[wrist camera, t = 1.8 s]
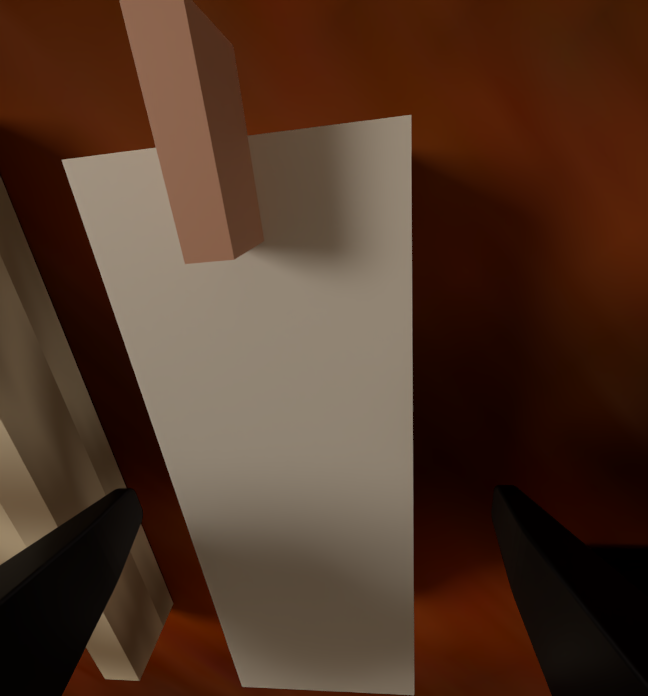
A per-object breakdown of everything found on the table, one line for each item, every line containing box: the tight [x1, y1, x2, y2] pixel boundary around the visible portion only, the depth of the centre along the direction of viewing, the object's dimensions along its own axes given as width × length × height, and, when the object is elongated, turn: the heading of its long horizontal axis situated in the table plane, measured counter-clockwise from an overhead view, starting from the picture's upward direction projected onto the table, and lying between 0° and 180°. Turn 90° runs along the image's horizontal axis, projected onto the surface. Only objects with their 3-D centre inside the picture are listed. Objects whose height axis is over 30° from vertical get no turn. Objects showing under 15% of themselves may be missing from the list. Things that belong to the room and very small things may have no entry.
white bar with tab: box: [62, 0, 414, 695], centre depth 10 cm, size 17×5×6 cm, turn 6°
